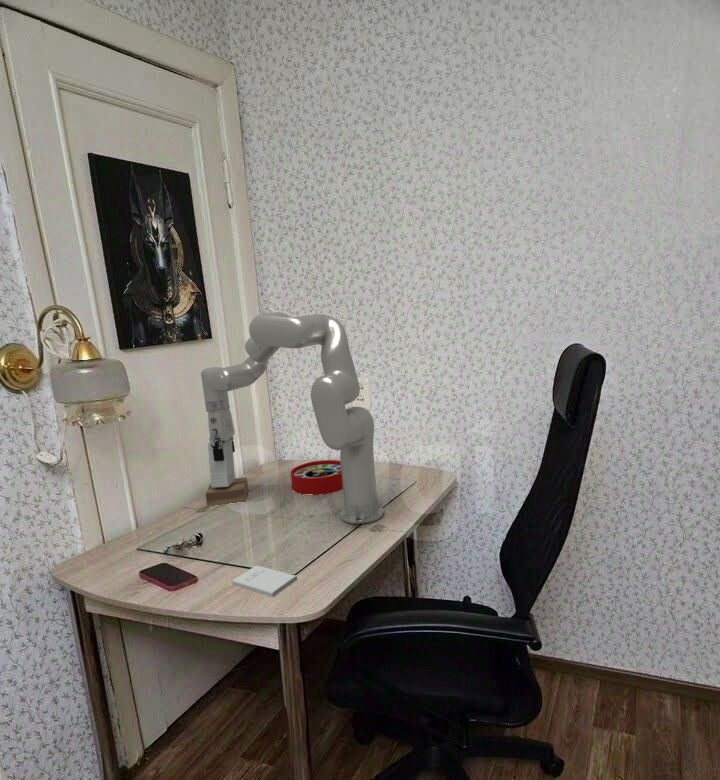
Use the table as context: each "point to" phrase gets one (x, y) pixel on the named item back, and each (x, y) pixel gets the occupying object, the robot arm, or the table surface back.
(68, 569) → the table surface
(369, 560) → the table surface
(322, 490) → the toy clock
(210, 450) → the skincare box
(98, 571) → the table surface
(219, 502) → the walnut block
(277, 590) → the external hard drive
